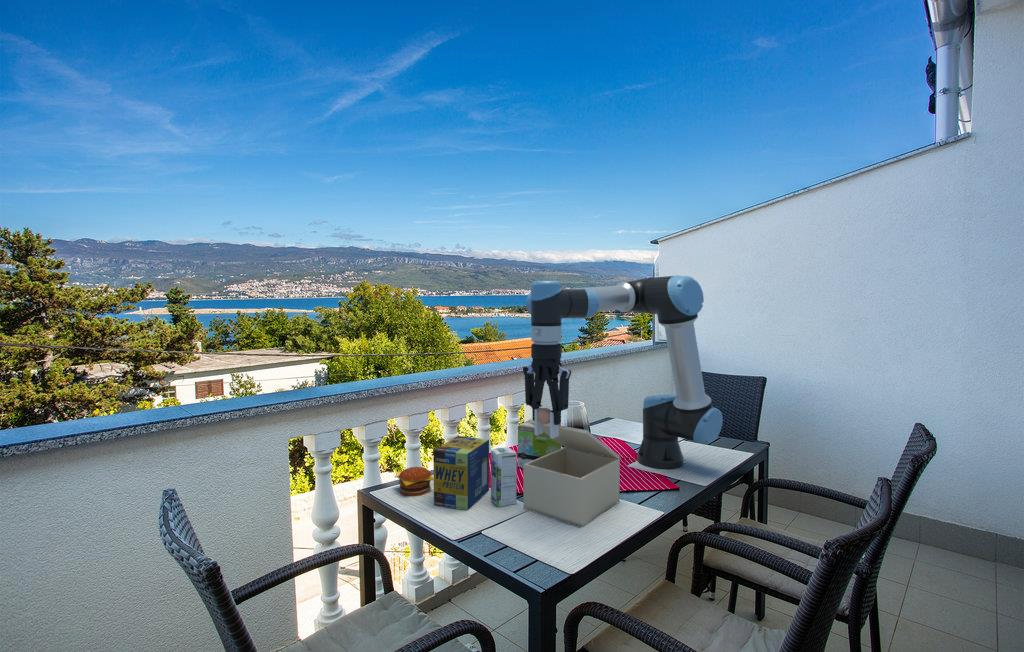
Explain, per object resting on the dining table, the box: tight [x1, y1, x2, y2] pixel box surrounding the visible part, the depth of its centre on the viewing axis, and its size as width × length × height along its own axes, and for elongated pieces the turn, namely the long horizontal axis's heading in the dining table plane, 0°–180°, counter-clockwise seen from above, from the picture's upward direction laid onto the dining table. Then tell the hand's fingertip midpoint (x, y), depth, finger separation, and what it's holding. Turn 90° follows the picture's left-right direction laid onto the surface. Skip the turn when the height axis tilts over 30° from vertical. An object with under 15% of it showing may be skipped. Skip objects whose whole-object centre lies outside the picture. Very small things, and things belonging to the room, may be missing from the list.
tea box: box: [517, 418, 561, 469], centre depth 164 cm, size 15×10×15 cm, turn 62°
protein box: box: [432, 435, 490, 511], centre depth 139 cm, size 10×15×16 cm
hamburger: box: [395, 466, 434, 497], centre depth 145 cm, size 9×10×7 cm
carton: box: [522, 447, 621, 528], centre depth 133 cm, size 20×18×12 cm
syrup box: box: [490, 446, 518, 508], centre depth 135 cm, size 6×6×14 cm
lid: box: [529, 407, 620, 459], centre depth 131 cm, size 29×18×4 cm
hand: (546, 435), depth 123 cm, fingers closed on lid, 4 cm apart
